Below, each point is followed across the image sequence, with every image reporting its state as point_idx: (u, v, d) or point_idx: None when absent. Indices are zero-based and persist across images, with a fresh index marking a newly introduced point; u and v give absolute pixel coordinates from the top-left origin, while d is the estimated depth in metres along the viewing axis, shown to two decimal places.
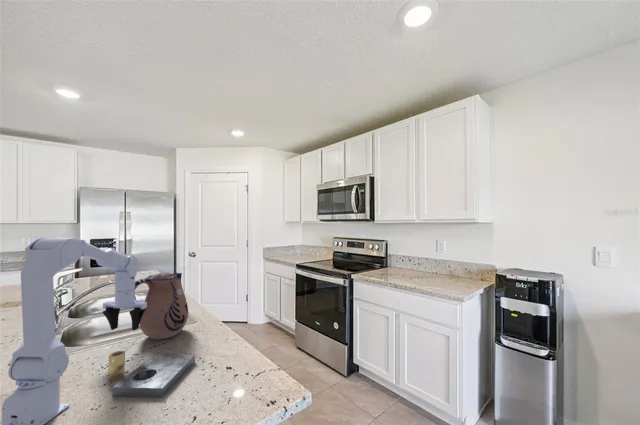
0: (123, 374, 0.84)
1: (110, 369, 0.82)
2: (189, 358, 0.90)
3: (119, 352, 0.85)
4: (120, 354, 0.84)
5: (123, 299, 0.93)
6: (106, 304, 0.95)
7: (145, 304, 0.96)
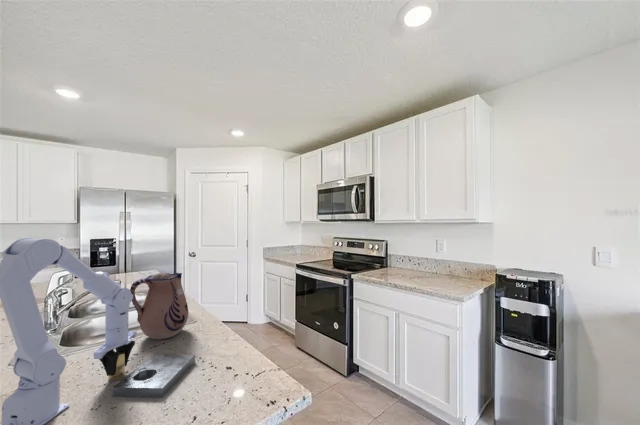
0: (123, 374, 0.84)
1: None
2: (189, 358, 0.90)
3: None
4: (120, 354, 0.84)
5: None
6: None
7: (97, 354, 0.77)
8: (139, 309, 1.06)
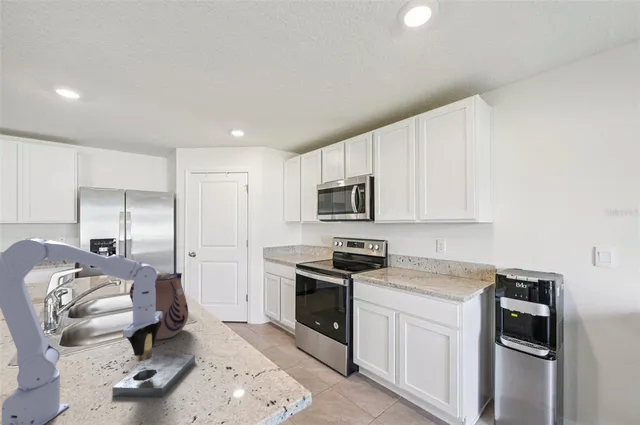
0: (150, 355, 0.81)
1: None
2: (189, 358, 0.90)
3: None
4: (147, 334, 0.81)
5: None
6: None
7: (127, 332, 0.74)
8: None
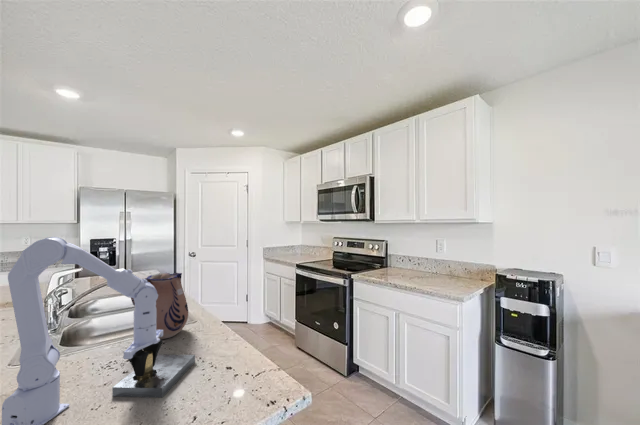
0: (151, 375, 0.81)
1: None
2: (189, 358, 0.90)
3: None
4: (148, 354, 0.81)
5: None
6: None
7: (127, 354, 0.74)
8: None
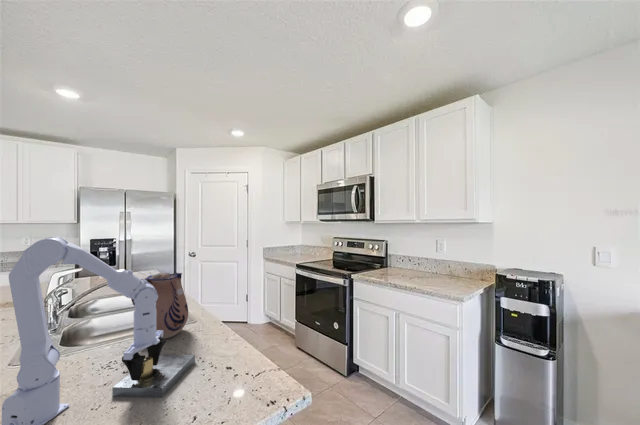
0: None
1: None
2: (189, 358, 0.90)
3: (147, 358, 0.81)
4: (148, 360, 0.81)
5: None
6: None
7: (127, 355, 0.74)
8: None
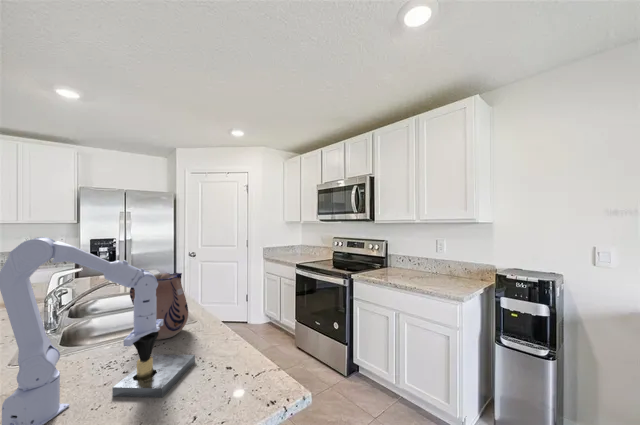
0: None
1: (138, 376, 0.79)
2: (189, 358, 0.90)
3: None
4: (148, 360, 0.81)
5: None
6: None
7: (127, 341, 0.74)
8: None
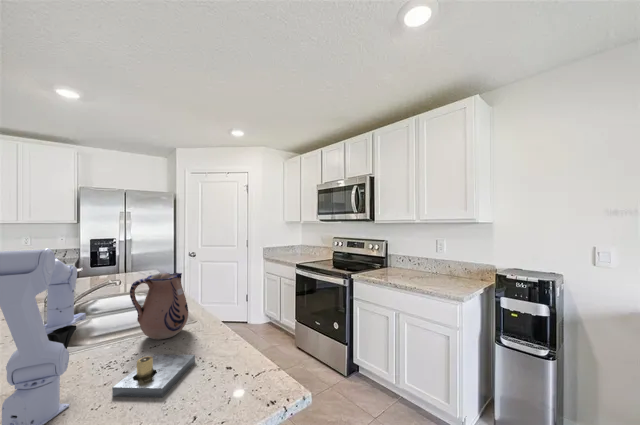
0: None
1: (138, 375, 0.79)
2: (189, 358, 0.90)
3: (147, 358, 0.81)
4: (148, 360, 0.81)
5: None
6: None
7: None
8: (139, 309, 1.06)
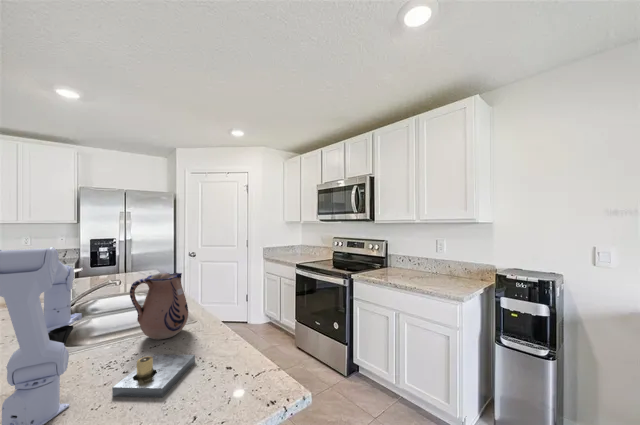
0: None
1: (138, 375, 0.79)
2: (189, 358, 0.90)
3: (147, 358, 0.81)
4: (148, 360, 0.81)
5: None
6: None
7: None
8: (139, 309, 1.06)
